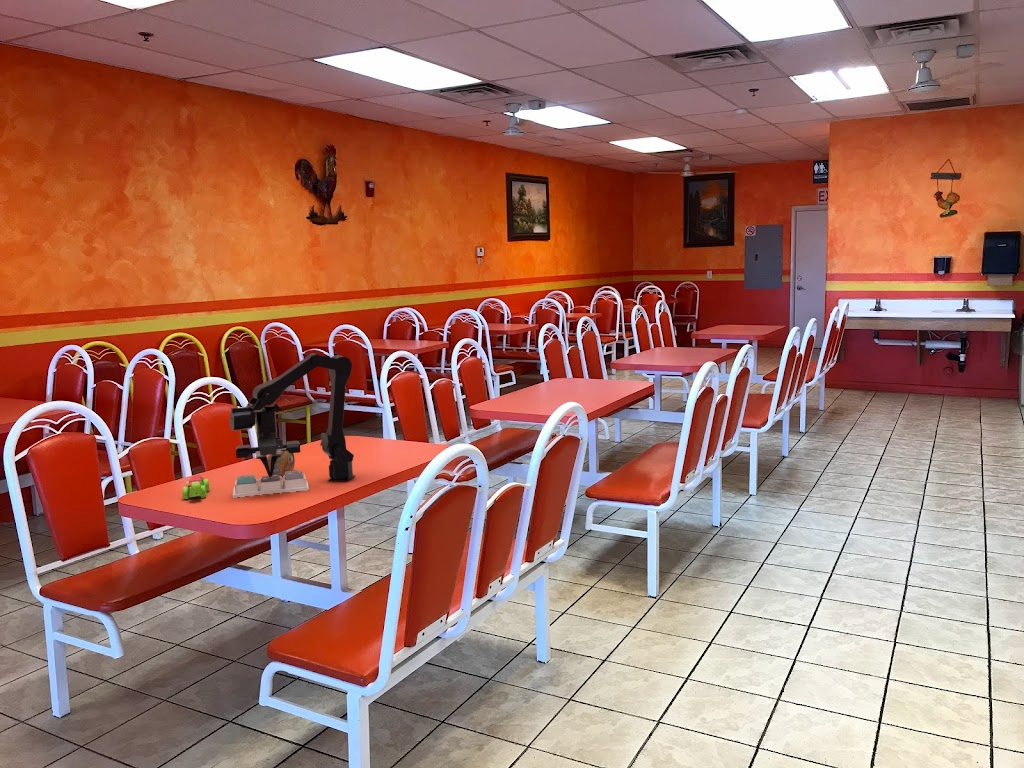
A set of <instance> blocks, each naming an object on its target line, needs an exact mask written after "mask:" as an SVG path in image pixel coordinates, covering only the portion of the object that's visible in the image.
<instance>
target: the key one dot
mask: <svg viewBox="0 0 1024 768" xmlns="http://www.w3.org/2000/svg"><path fill="white" fill-rule="evenodd" d="M255 475H256V474H255V473H254V474H246V475H245V474H244V475H237V478H236V480H237V484H238V485H242V484H252V483H255V479H256V476H255Z"/></svg>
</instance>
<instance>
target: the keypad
mask: <svg viewBox="0 0 1024 768" xmlns="http://www.w3.org/2000/svg"><path fill="white" fill-rule="evenodd" d="M302 475H303V479H293V480H286V477H285V476H283V477H281V476H279V481H273V482H262V477H260V478H258V477H257V478H256V477H255V483H252V484H242V485H238V484H237V479H236V480H235V481H234V487H233V488H232V489H233V491H232V498H233V499H237V497H240V498H246V497H245V496H250V497H255V496H254V495H260V496H263V495H262V494H270V495H274V494H273V493H280V494H283V493H282V492H290V493H297V492H296V491H300V492H309V491H310V487H309V484H308V483H309V482H308V480H306V474H305V473H302ZM308 490H309V491H308Z"/></svg>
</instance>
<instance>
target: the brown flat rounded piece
mask: <svg viewBox="0 0 1024 768" xmlns="http://www.w3.org/2000/svg"><path fill="white" fill-rule="evenodd" d="M294 454H295V453H289V452H288V451H281V457H278V458H277V460H276V463H275V466H274V470H273V474H272V475H279V476H281V477H282V476H284V475H285V472H286V471H294V468H295V462H296V460H295V455H294ZM267 459H268V464H269V469H270V464H271V455H268V456H267ZM282 478H283V477H282Z"/></svg>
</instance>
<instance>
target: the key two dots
mask: <svg viewBox="0 0 1024 768" xmlns="http://www.w3.org/2000/svg"><path fill="white" fill-rule="evenodd" d="M302 474H303V470H302V469H299V470H293V471H286V472H285V477H286V480H293V479H303V475H302Z"/></svg>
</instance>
